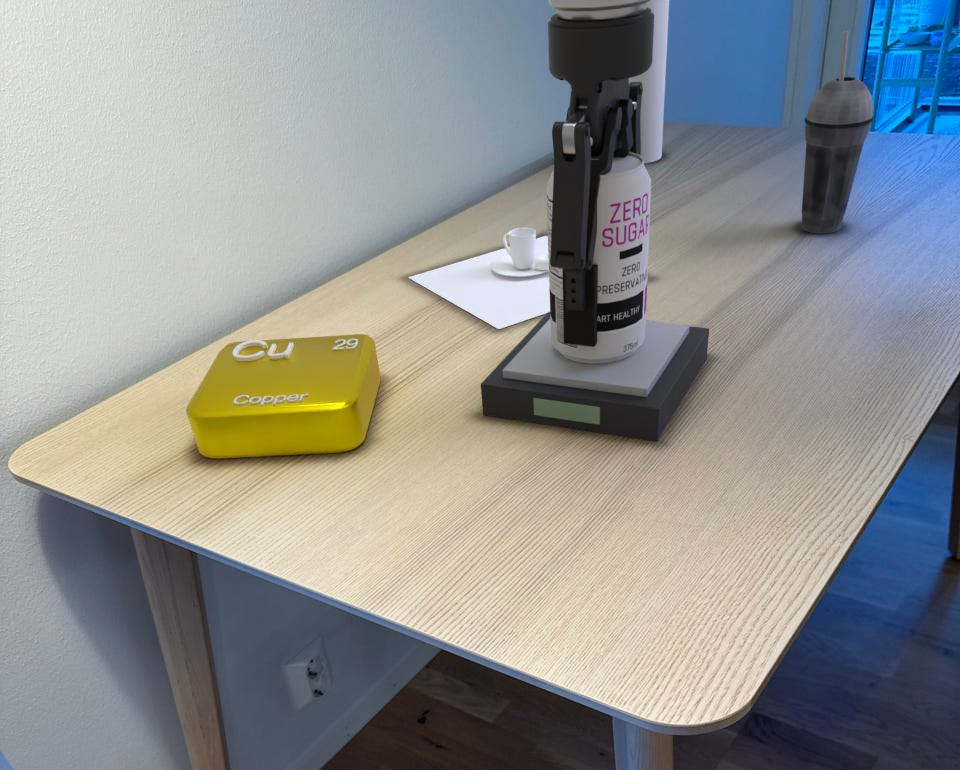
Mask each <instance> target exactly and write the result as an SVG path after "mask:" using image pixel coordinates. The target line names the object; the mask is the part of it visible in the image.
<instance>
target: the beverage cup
mask: <svg viewBox="0 0 960 770" xmlns="http://www.w3.org/2000/svg"><path fill="white" fill-rule="evenodd" d="M848 41H849V30H843V32H842V42H841V52H840V53H841V54H840V61H839V62H840V63H839V73H838V74H839V75H838V77H834V78H833V79H831V80H829V81H828V82H826V83H825V84H823V85H822V86H821V87H820V88H819V89H818V90H817V92H816V93H815V94H814V96H813V98H811V100H810V103H809V106H808V109H807V112H806V116H805V117H804V123H805V126H804V133H805V134H804V137H805V138H804V139H805V154H804V171H803V185H802V187H803V188H802V199H801V200H802V203H801V226H800V227H801V229H802V230H803V231H804V232H807V233H810V234H811V233H812V234H831V233H836V232H838V231H839V230H841V228H842V224H843V221H844V217H845V214H846V212H847V208H848V204H849V200H850V196H851V193H852V189H853V185H854V181H855V178H856V174H857V170H858V166H859V162H860V159H861V155H862V151H863V147H864V144H865V141H866V140H867V137H868V134H869V132H870V129H871V124H872V123H873V121H874V102H873V97H872V93H871V91H870V89H869V88H868V86H867V85H866V83H864V82H863V81H862V80H860V79H859V78H857V77H854V76H845V72H846V64H847V63H846V60H847V51H848Z"/></svg>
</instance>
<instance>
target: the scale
mask: <svg viewBox="0 0 960 770" xmlns="http://www.w3.org/2000/svg"><path fill="white" fill-rule="evenodd" d="M709 336H710V328H709V327H698V326H692V325H691V326H690V324H685V323H674V322H666V321H665V322H664V321H656V320H655V321H654V320H646V324H645V338H644V341H643V344H642V345H640V346H639V347H638V348H637V349H636V351H635V352H633V353H632V354H631V355H630V356H628V357H626V358H623V359H621V360H618V361H613V362H608V363H596V364H589V363H581V362H576V361H573V360H570V359H567V358H565V357H564V356H563V355H561V354H560V352H559V351H558V350H557V349H555V348H554V347H553V345H552V341H551V321H550V312H548V313H545V314H544V316H543V317H542V318H541V319H540V320H539V321H538V322H537V323H536V324H535V325H534V326H533V327H532V329H531V330H530V331H528V333H527V334H526V335H525V336H524V337H523V338H522V339H521V340H520V341H519V342H518V343H517V344H516V346H515V347H514V348H513V349H512V350H511V351H510V352H509V353H508V354H507V355H506V356H505V357H504V358H503V360H502V361H501V362H500V363H499V364H498V365H497V366H496V367H495V368H494V369H493V370H492V371H491V372H490V373H489V375H488V376H486V378H484V380H482V382H481V383H480V392H481V394H480V395H481V405H482V415H484V416H489V417H495V418H502V419H508V420H514V421H521V422H529V423H535V424H541V425H548V426H554V427H561V428H567V429H573V430H574V429H575V430H580V431H581V430H582V431H587V432H592V433H593V432H594V433H600V434H607V435H613V436H620V437H626V438H632V439H633V438H634V439H640V440H647V441H653V442H658V441H659V439H660V437H661V435H662V434H663V432H664V431H665V429H666V427H667V426H668V424H669V422H670V420H671V419H672V418H673V415H674V414H675V412H676V411H677V409H678V408H679V405H680V404H681V402H682V400H683V399H684V397H685V396H686V394H687V392H688V390H689V388H691V385H692V384H693V382H694V381H695V379H696V377H697V375H698V374H699V372H700V370H701V368H702V367H703V366H704V364H705V362H706V360H707V358H708V348H709V338H710V337H709Z"/></svg>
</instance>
